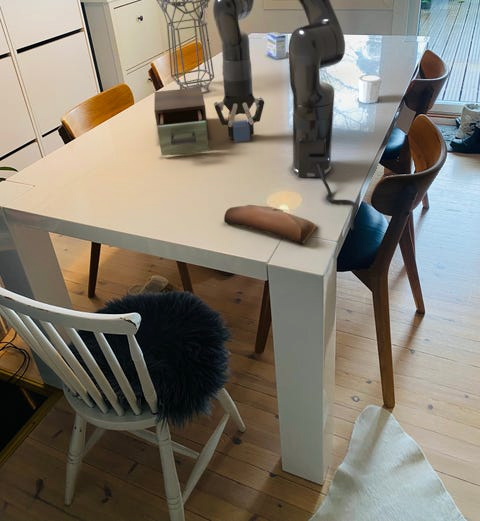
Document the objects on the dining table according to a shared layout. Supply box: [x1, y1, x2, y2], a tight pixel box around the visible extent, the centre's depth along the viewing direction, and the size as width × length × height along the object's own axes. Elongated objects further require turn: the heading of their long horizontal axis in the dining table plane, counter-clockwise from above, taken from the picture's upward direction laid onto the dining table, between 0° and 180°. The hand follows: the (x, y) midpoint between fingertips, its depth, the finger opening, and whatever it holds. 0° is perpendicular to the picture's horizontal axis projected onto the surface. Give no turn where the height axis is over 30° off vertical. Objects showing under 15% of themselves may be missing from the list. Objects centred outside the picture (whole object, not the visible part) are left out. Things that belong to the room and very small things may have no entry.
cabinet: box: [153, 86, 209, 138], centre depth 146 cm, size 16×14×10 cm
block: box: [232, 119, 251, 143], centre depth 141 cm, size 4×4×4 cm
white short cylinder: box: [358, 74, 382, 104], centre depth 158 cm, size 7×7×7 cm
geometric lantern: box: [155, 0, 215, 94], centre depth 167 cm, size 16×16×35 cm
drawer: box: [156, 109, 210, 157], centre depth 136 cm, size 19×13×8 cm, turn 7°
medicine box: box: [266, 31, 287, 60], centre depth 203 cm, size 8×4×9 cm, turn 25°
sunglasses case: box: [223, 204, 317, 244], centre depth 104 cm, size 18×7×7 cm
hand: (241, 136), depth 142 cm, fingers closed on block, 4 cm apart
